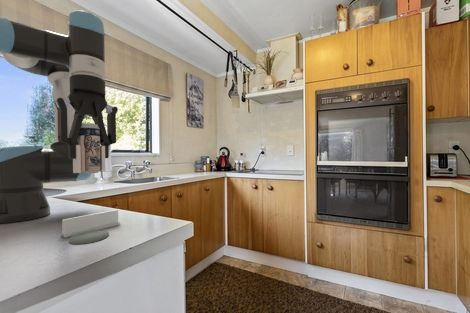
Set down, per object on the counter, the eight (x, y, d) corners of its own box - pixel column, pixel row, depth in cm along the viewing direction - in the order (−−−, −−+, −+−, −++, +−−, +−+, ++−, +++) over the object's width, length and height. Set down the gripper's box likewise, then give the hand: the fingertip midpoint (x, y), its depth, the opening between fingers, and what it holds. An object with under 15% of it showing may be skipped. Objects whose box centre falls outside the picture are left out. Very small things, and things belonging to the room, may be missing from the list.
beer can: (90, 173, 55) (89, 122, 55) (73, 173, 56) (72, 123, 56) (105, 172, 59) (104, 125, 60) (89, 172, 60) (88, 126, 60)
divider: (61, 235, 58) (60, 218, 58) (114, 222, 68) (114, 209, 68) (65, 237, 56) (64, 220, 56) (119, 224, 66) (119, 210, 66)
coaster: (63, 239, 55) (63, 237, 55) (100, 230, 61) (100, 228, 61) (76, 247, 50) (75, 245, 50) (114, 236, 56) (114, 234, 56)
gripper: (47, 62, 48) (49, 174, 48) (130, 83, 63) (132, 170, 62) (37, 72, 53) (39, 174, 53) (117, 89, 67) (118, 170, 67)
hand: (89, 171), depth 57 cm, fingers closed on beer can, 5 cm apart
